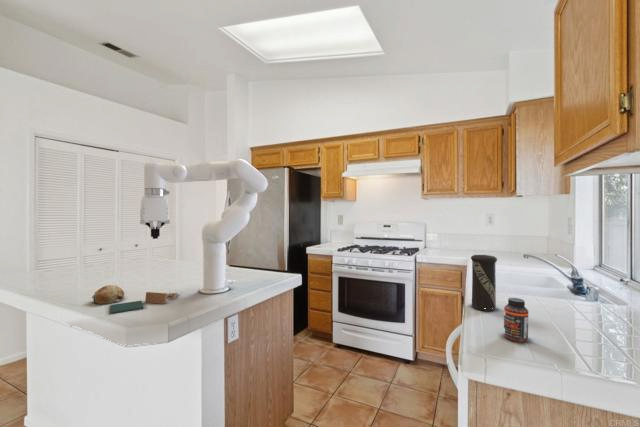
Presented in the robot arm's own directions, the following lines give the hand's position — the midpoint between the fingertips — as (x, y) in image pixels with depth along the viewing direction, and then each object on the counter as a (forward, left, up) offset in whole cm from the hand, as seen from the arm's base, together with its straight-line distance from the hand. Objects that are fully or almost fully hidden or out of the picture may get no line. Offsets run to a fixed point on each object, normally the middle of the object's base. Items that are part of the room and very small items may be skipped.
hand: (155, 238), depth 123 cm
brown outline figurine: (+1, +5, -23) cm, 24 cm away
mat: (+10, +5, -25) cm, 27 cm away
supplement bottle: (-82, +99, -25) cm, 131 cm away
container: (-102, +79, -25) cm, 132 cm away
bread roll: (+16, -9, -25) cm, 31 cm away
